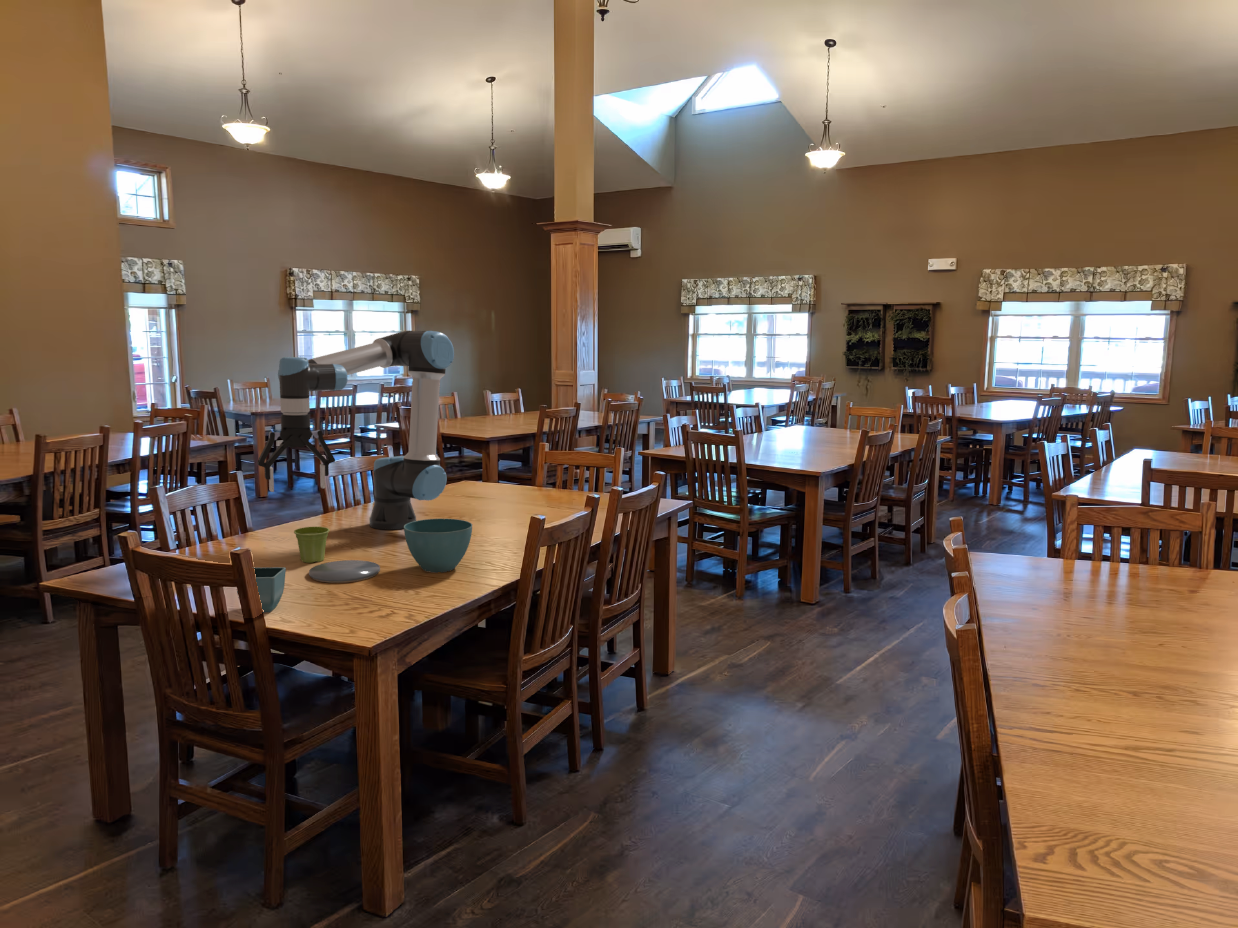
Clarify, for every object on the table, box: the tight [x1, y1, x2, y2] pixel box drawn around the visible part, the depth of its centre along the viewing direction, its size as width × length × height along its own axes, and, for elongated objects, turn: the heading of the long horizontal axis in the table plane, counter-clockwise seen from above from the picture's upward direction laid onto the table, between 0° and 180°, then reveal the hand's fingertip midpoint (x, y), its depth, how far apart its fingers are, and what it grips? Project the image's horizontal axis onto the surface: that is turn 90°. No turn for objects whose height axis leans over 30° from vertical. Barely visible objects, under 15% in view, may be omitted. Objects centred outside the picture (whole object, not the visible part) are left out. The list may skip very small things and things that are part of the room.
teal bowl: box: [403, 518, 473, 574], centre depth 228 cm, size 18×18×12 cm
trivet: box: [308, 559, 381, 584], centre depth 222 cm, size 18×18×1 cm
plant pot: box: [293, 526, 330, 564], centre depth 234 cm, size 9×9×9 cm
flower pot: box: [236, 566, 287, 613], centre depth 191 cm, size 9×9×9 cm
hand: (297, 489), depth 233 cm, fingers open, 13 cm apart
